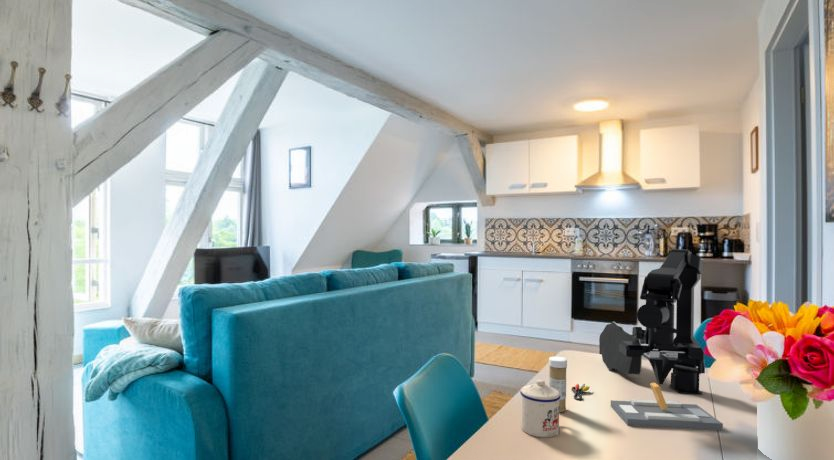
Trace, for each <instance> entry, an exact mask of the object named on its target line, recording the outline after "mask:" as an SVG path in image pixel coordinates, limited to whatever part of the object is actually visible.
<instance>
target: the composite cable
mask: <svg viewBox="0 0 834 460" xmlns="http://www.w3.org/2000/svg"><path fill="white" fill-rule="evenodd" d="M589 390H590V386H588V385H586V383H581V384H579V383H576V384H575V386H572V387H571V392H573V393H574V395H573V399H574V400H576V401H582V400H583V394H584V393H585V392H586V391H589ZM577 396H578V397H577Z"/></svg>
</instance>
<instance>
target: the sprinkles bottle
mask: <svg viewBox="0 0 834 460" xmlns="http://www.w3.org/2000/svg"><path fill="white" fill-rule="evenodd" d="M548 366H549V370H548V372H549V374H548V386H550V387H552V388H554V389H556V390H557V391H558V392H559V393H560V399H559V413H564V412H566V410H567V407H566V404H567V403H566V401H567V399H566V398H567V367H568V360H567V359H566V358H565V357H564V356H562V357H561V356H550V357H549V358H548Z"/></svg>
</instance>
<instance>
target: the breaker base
mask: <svg viewBox="0 0 834 460" xmlns="http://www.w3.org/2000/svg"><path fill="white" fill-rule="evenodd" d="M665 402H666V405H667V407H668V409H667V410H668V411H667V412H665V411H664V410H663V409H661V408H660V407H659V406H658V403H657V401H656V399H654V400H652V399H635V398H634V399H632V398H631V399H630V401H627V400H612V399H611V400H610V407H611V409H612V410H613V411H614V412H615V413H616V414H617V415H618V416H619V418H620V419H621V420H622V421H623V422H624V423H625V424H626V425H627V426H630V427H631V426H632V427H650V428H651V427H653V428H669V429H671V428H673V429H687V430H688V429H690V430H691V429H692V430H707V431H711V430H712V431H723V429H724V427H723V426H724V423H723V422H721V421H720V420H718V419H717V418H716V417H715V416H713V415H711V414H710V413H709V412H708V411H707V410H705V409H703V408H702V407H701V406H700V405H698V404H695V403H691V404H690V403H680V401H678V400H675V401H674V400H665Z"/></svg>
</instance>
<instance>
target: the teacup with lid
mask: <svg viewBox="0 0 834 460" xmlns="http://www.w3.org/2000/svg"><path fill="white" fill-rule="evenodd" d="M520 397H521V402H520V403H521V404H520V428H521V429H522V431H523V432H525V433H526V434H528V435H530V436H532V437H537V438H551V437H552V438H553V437H555V436H557V435H558V434H559V431H560V427H559V426H560V412H559V399H560V393H559V392H558V391H557V390H556V389H554V388H552V387H550V386H549V384H546V382H545V380H544V379H536V381H535V383H532V384H528V385H525V386H523V387H522V388H521V390H520Z"/></svg>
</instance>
